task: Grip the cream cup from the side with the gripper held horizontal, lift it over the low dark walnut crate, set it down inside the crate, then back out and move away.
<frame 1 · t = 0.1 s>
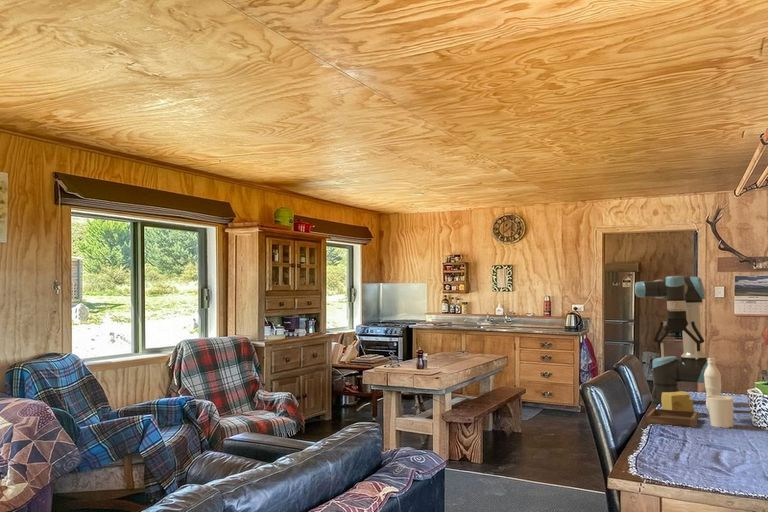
hand: (679, 358, 260), 28 cm above the table, tool pointing down, fingers open, 13 cm apart
walnut crate: (672, 421, 260), on the table
cream cup: (722, 426, 250), on the table
cheese: (678, 415, 275), on the table
water bottle: (714, 411, 281), on the table
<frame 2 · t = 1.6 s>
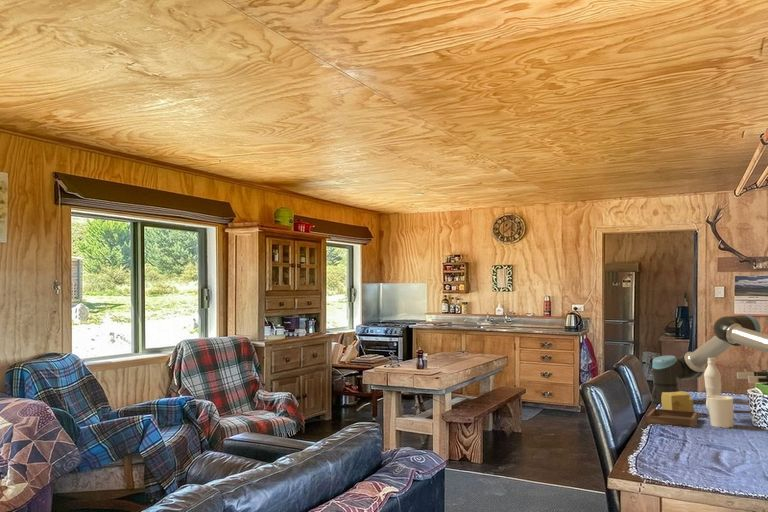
hand: (742, 377, 249), 20 cm above the table, tool horizontal, fingers open, 13 cm apart
nothing on the table moved.
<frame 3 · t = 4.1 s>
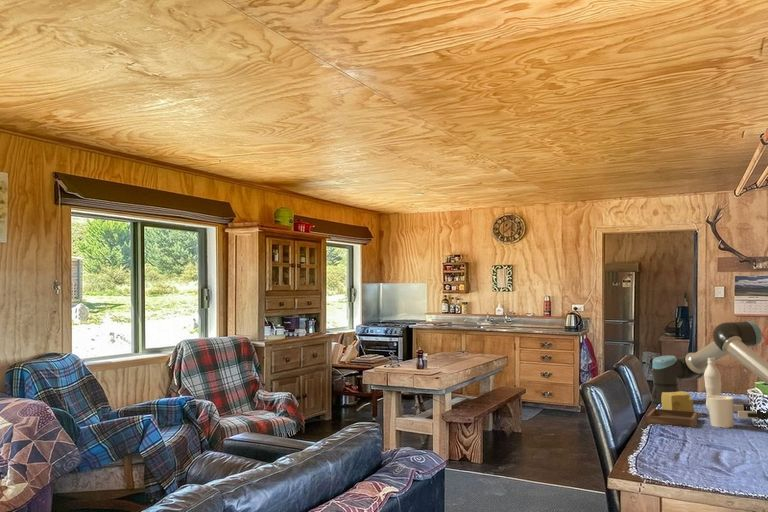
hand: (732, 411, 249), 6 cm above the table, tool horizontal, fingers open, 13 cm apart
nothing on the table moved.
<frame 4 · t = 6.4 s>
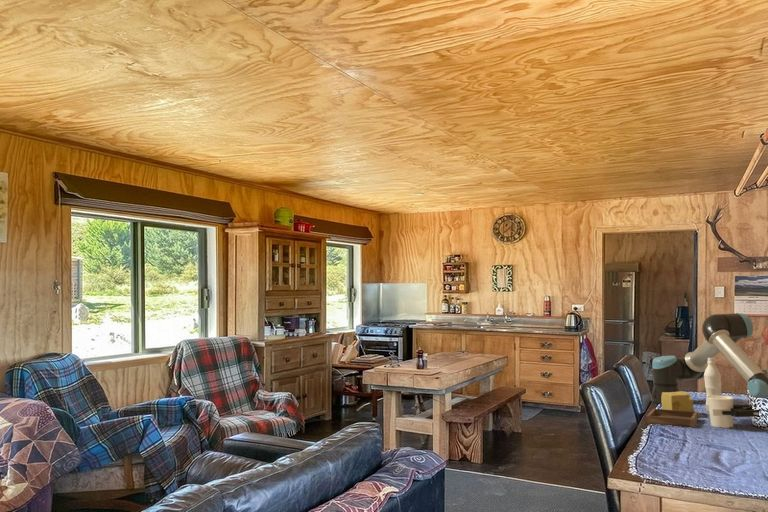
hand: (709, 410, 251), 7 cm above the table, tool horizontal, fingers closed on cream cup, 9 cm apart
cream cup: (722, 426, 250), on the table, touching gripper
everything else where it was.
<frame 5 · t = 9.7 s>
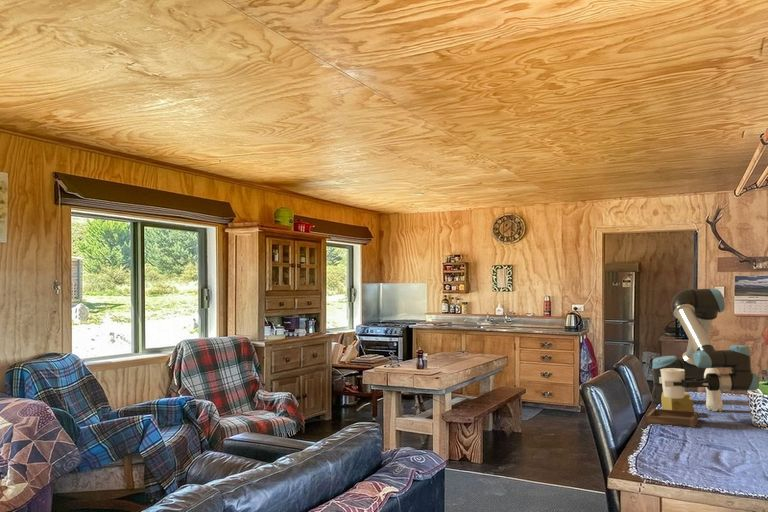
hand: (662, 381, 261), 18 cm above the table, tool horizontal, fingers closed on cream cup, 9 cm apart
cream cup: (674, 397, 260), point 11 cm above the table, touching gripper
everything else where it was.
when the fingers open (9 cm above the table, at t = 12.9 s): cream cup drops 1 cm, resting on walnut crate.
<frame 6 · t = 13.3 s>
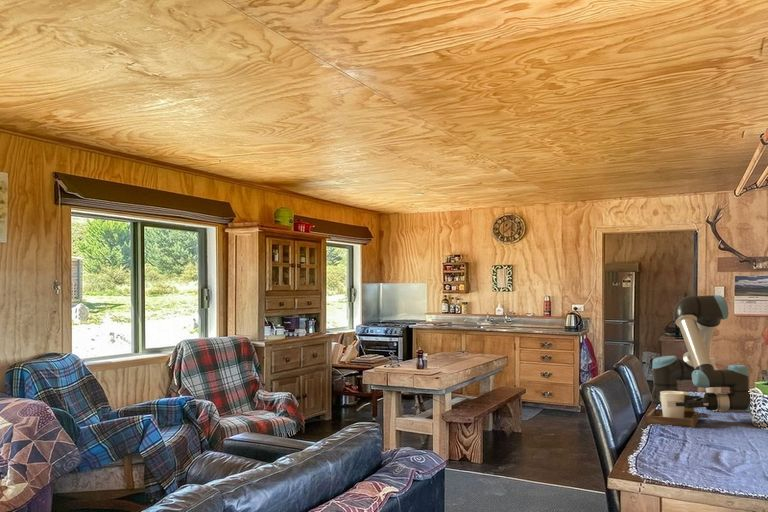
hand: (663, 401, 261), 9 cm above the table, tool horizontal, fingers open, 13 cm apart
cream cup: (673, 420, 259), point 1 cm above the table, touching walnut crate
everything else where it was.
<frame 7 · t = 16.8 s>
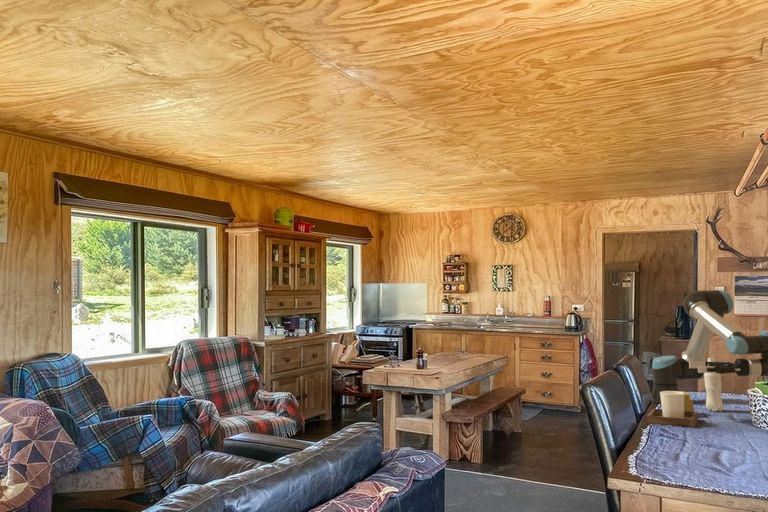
hand: (693, 367, 259), 24 cm above the table, tool horizontal, fingers open, 13 cm apart
nothing on the table moved.
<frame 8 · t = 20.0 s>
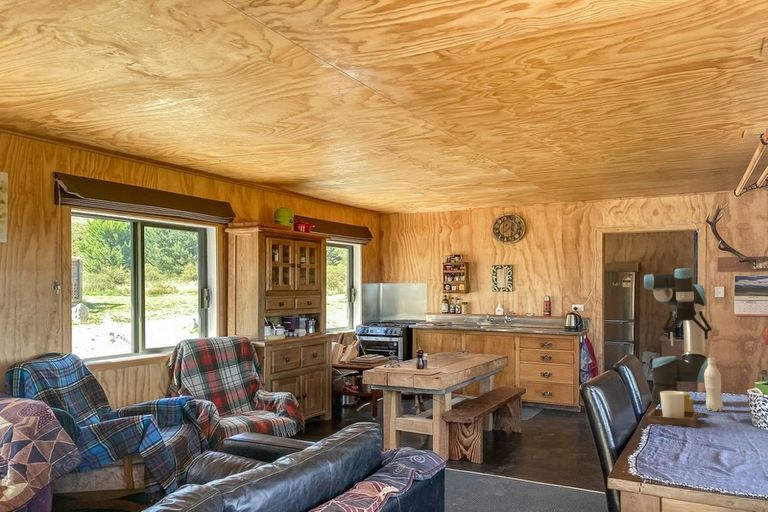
hand: (688, 346, 276), 32 cm above the table, tool pointing down, fingers open, 13 cm apart
nothing on the table moved.
at the end: cream cup inside the target area on the walnut crate (1.3 cm from its centre), point 0.8 cm above the walnut crate's base; cream cup tilted 0°; the gripper is holding nothing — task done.
